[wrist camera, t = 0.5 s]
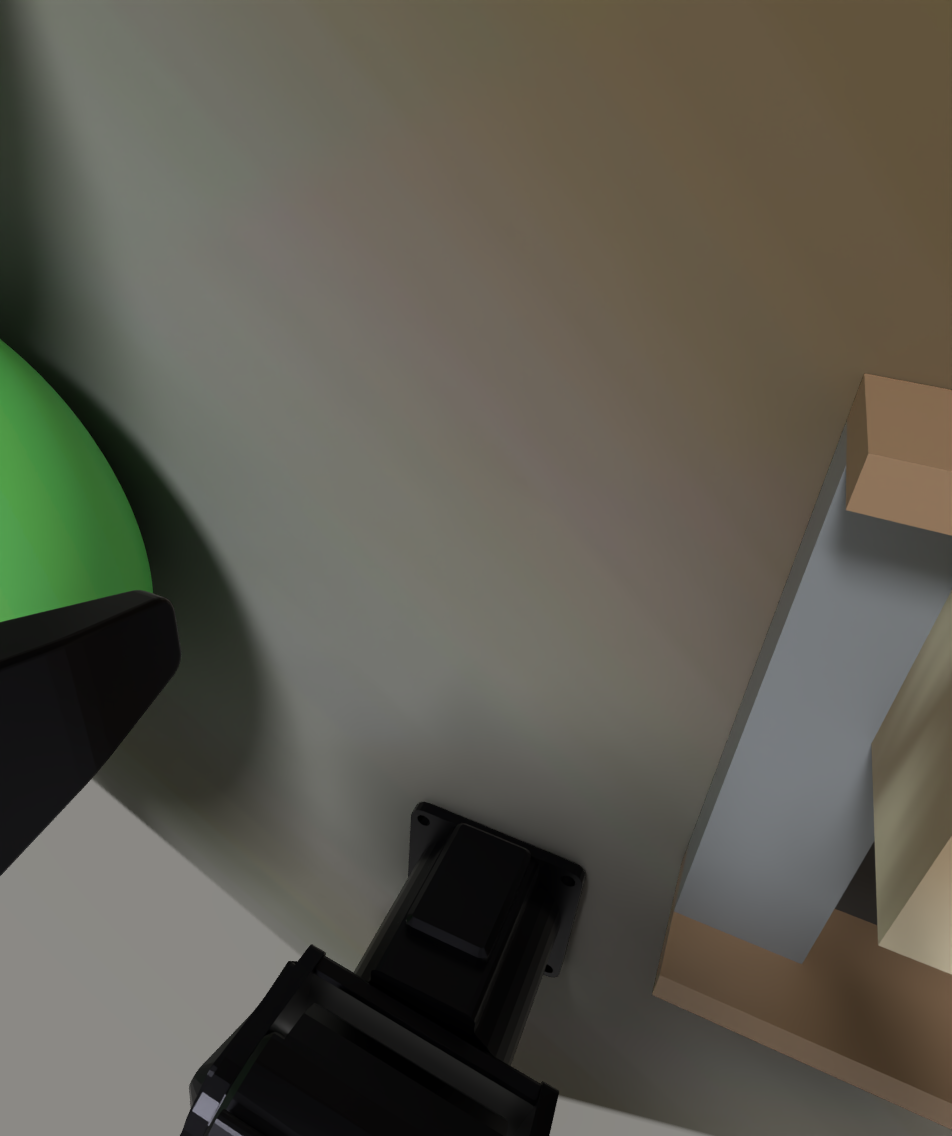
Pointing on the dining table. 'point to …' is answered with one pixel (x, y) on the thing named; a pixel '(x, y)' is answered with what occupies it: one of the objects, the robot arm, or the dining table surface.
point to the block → (917, 807)
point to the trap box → (828, 780)
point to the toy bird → (58, 504)
